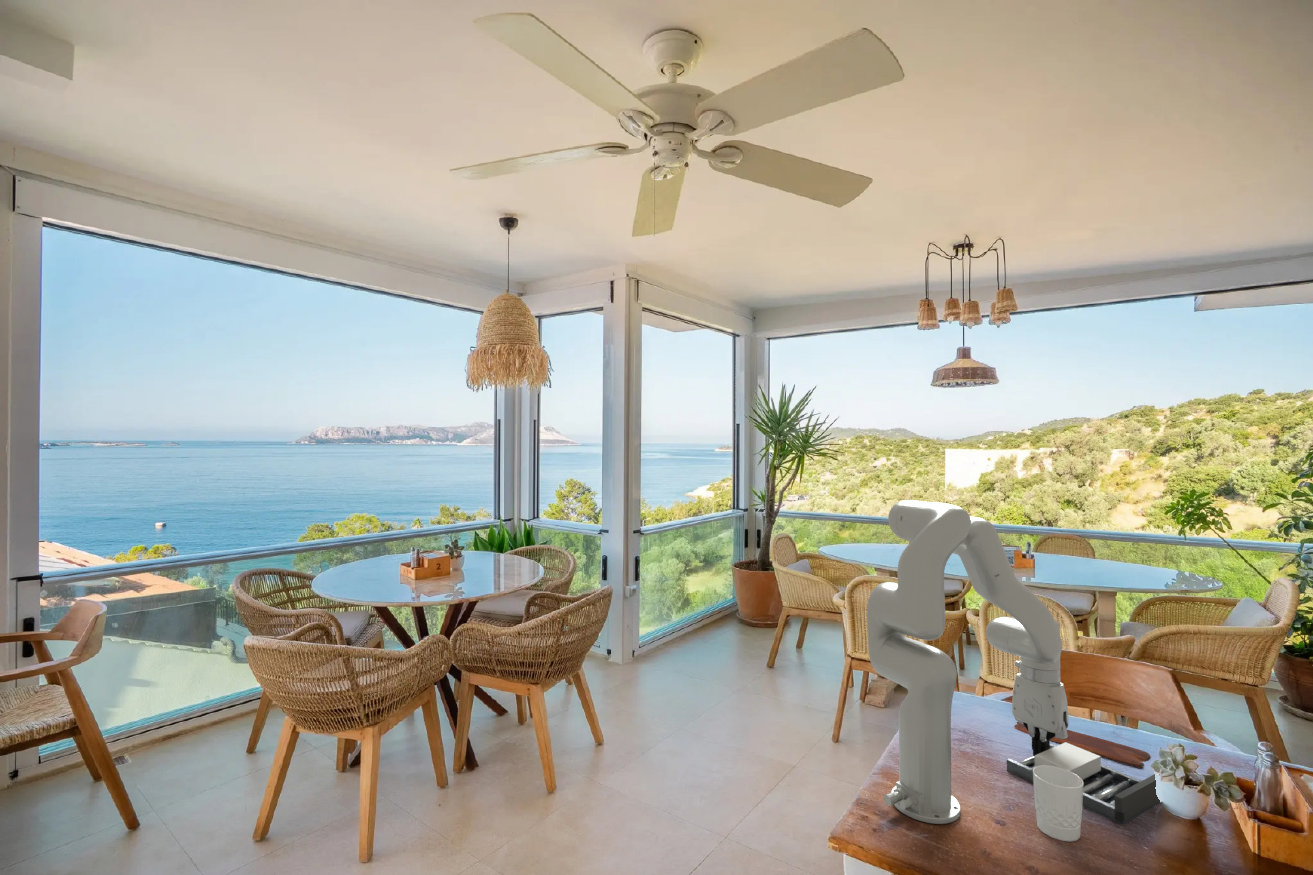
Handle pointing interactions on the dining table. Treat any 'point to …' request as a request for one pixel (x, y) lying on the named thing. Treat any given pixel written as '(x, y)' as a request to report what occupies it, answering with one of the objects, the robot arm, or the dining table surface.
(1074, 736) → the wooden tablet
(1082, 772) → the slab
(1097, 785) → the roller track
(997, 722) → the dining table surface
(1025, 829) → the dining table surface
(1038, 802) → the white cup
